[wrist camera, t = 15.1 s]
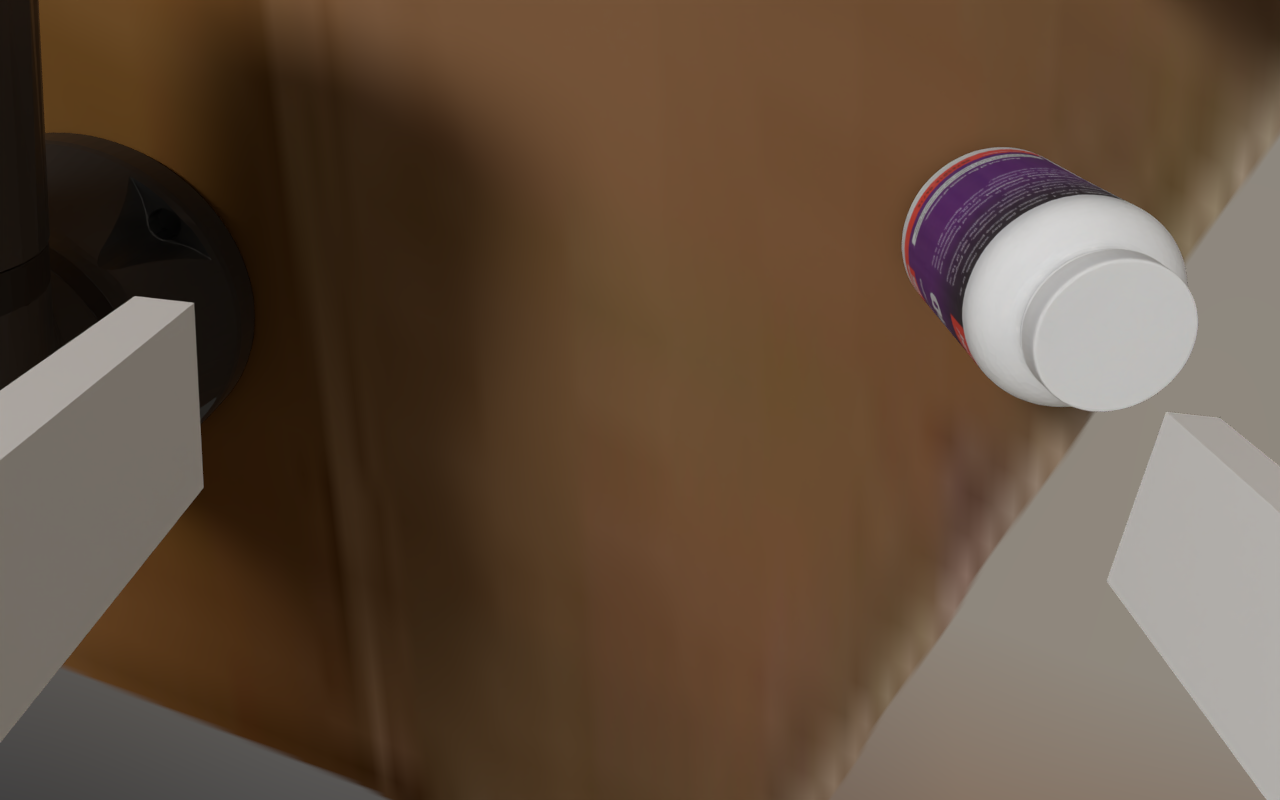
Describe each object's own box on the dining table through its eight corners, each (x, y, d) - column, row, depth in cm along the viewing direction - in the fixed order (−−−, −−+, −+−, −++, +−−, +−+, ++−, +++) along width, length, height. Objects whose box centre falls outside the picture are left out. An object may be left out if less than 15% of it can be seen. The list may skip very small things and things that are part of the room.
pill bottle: (864, 271, 49) (946, 391, 36) (955, 112, 46) (1081, 179, 33) (1010, 340, 51) (1141, 480, 38) (1108, 189, 48) (1287, 284, 35)
